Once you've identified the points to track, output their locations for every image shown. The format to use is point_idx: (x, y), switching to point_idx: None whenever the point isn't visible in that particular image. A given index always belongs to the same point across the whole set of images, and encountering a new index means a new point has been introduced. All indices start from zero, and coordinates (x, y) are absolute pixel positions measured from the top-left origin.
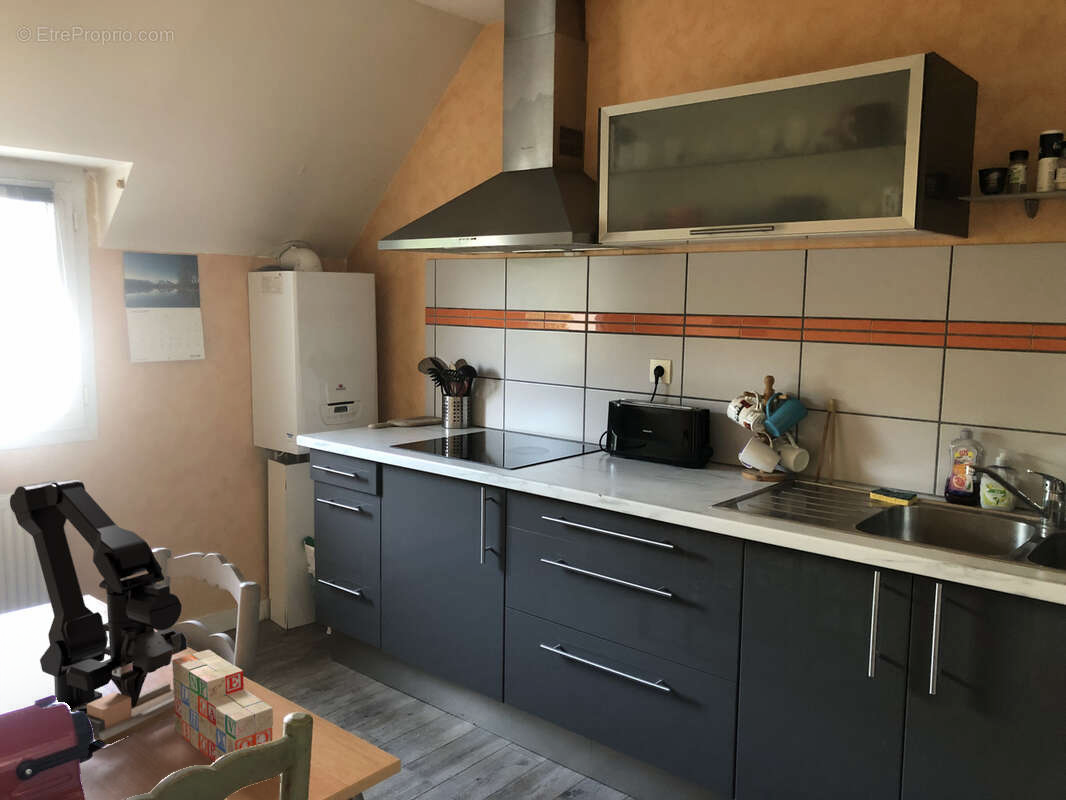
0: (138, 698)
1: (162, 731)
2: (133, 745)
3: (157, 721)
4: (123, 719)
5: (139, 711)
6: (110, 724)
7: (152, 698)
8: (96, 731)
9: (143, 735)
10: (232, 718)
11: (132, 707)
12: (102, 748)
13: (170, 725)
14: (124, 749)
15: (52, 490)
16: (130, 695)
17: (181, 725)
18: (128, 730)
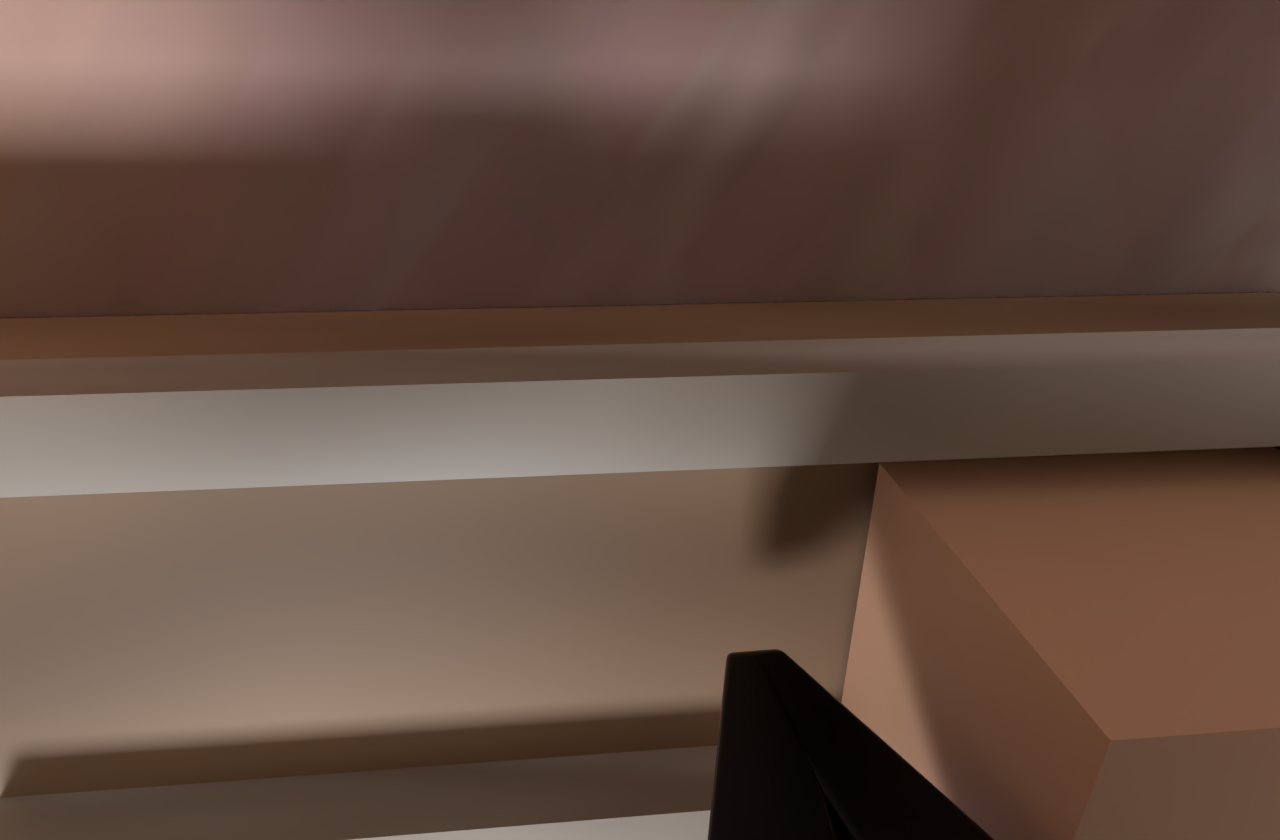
0: (719, 732)
1: (685, 28)
2: (1133, 50)
3: (560, 312)
4: (1047, 494)
5: (630, 603)
6: (1254, 496)
7: (314, 752)
8: None
9: (877, 176)
10: None
11: (778, 657)
12: None
13: (503, 83)
14: (1248, 65)
15: None
16: (971, 826)
17: None
18: (1031, 320)
